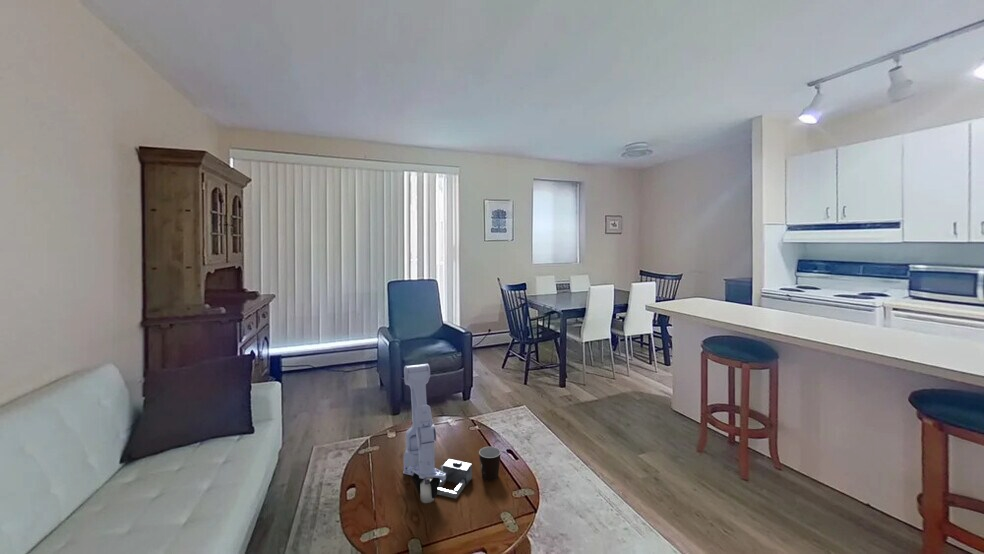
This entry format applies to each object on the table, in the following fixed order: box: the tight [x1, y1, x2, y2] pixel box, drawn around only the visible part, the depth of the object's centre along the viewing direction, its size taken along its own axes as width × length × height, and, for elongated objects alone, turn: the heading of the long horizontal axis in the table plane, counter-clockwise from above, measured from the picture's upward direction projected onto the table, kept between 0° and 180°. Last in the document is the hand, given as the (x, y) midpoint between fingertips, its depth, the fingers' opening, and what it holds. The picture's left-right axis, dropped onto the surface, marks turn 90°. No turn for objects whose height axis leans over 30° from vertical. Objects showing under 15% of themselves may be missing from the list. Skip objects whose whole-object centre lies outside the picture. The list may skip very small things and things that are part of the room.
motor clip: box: [437, 458, 473, 500], centre depth 149 cm, size 12×14×7 cm
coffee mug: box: [478, 446, 502, 482], centre depth 156 cm, size 12×9×10 cm
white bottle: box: [419, 478, 435, 504], centre depth 141 cm, size 5×5×7 cm
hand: (427, 494), depth 141 cm, fingers closed on white bottle, 5 cm apart
